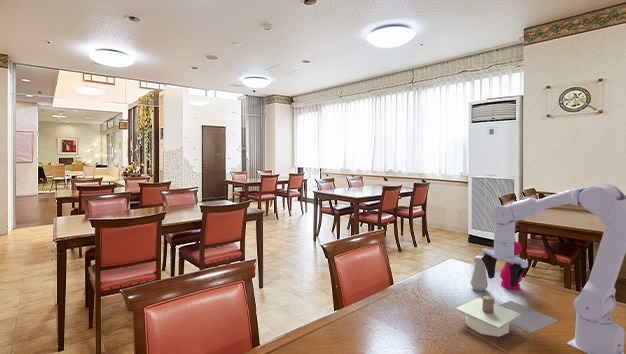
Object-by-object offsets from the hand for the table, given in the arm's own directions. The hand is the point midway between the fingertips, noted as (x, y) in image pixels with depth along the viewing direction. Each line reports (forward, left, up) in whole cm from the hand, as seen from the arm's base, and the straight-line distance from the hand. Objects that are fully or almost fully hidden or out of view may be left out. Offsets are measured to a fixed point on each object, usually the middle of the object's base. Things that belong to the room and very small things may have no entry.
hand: (502, 281), depth 107 cm
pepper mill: (+10, -21, -10) cm, 25 cm away
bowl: (-4, +13, -10) cm, 17 cm away
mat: (-5, -2, -10) cm, 11 cm away
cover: (-4, +12, -6) cm, 14 cm away
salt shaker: (+14, -8, -10) cm, 19 cm away
